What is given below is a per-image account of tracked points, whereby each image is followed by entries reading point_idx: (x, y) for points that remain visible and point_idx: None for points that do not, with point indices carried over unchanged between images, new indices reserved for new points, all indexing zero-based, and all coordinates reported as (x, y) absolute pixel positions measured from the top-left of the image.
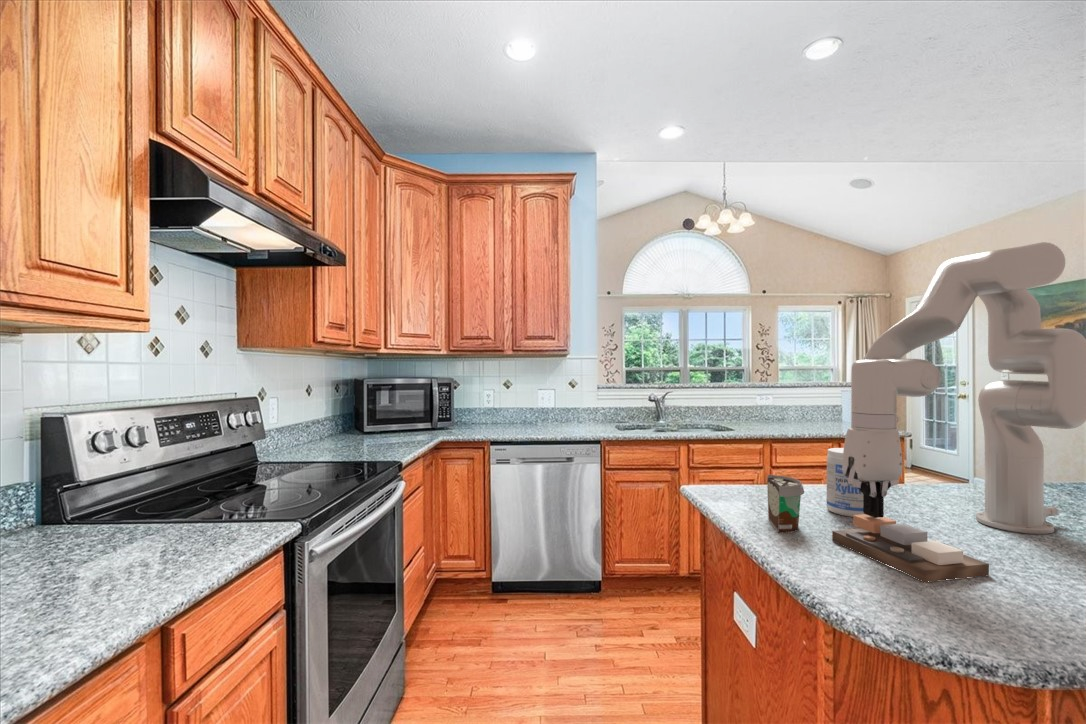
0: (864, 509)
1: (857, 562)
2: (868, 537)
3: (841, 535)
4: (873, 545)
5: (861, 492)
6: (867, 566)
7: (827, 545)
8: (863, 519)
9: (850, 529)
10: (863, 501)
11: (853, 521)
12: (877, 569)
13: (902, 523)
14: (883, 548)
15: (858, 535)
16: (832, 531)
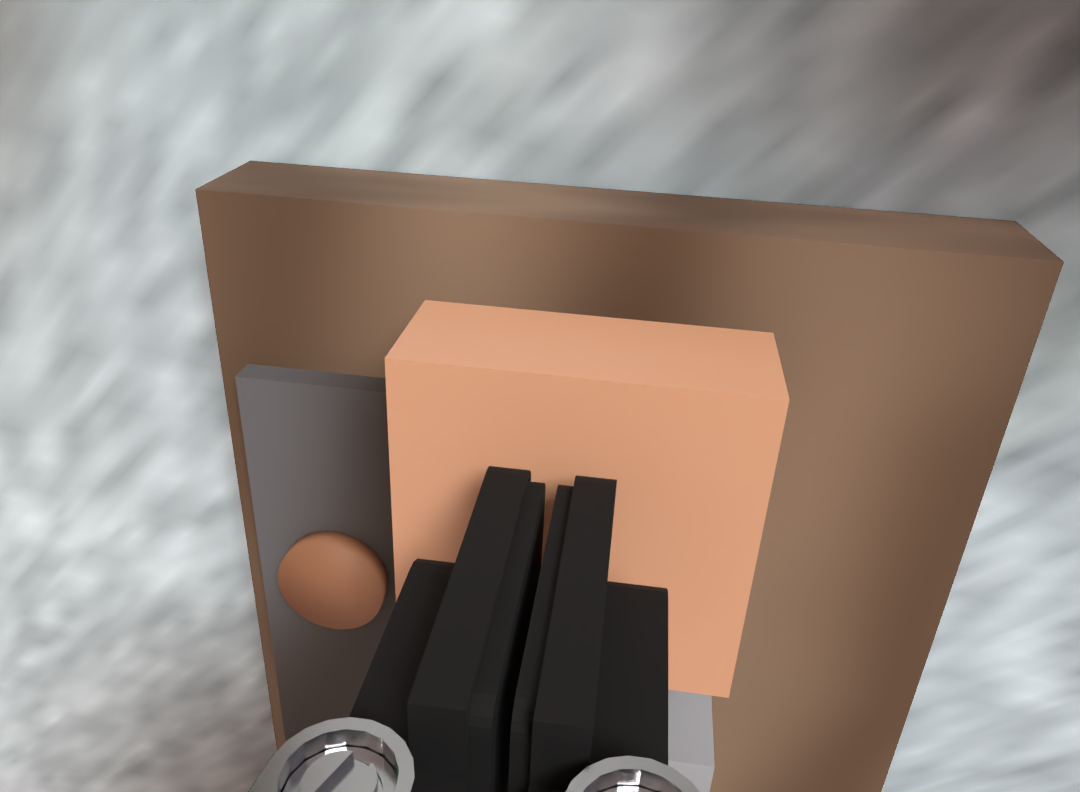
0: (416, 570)
1: (150, 588)
2: (319, 588)
3: (220, 326)
4: (276, 657)
5: (284, 771)
6: (174, 648)
7: (126, 251)
8: (396, 515)
9: (455, 215)
10: (448, 583)
11: (411, 323)
12: (206, 694)
13: (706, 767)
14: (291, 730)
15: (316, 469)
16: (199, 191)
